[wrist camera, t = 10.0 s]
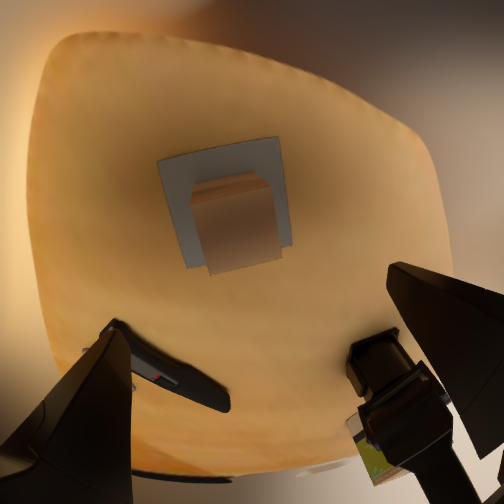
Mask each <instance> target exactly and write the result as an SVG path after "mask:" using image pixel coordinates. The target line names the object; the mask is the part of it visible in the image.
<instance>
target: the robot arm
mask: <svg viewBox="0 0 504 504" xmlns="http://www.w3.org/2000/svg"><path fill="white" fill-rule="evenodd" d="M386 288H387V291H388V293H389V295H390V296H391V298H392V300H393V302H394V304H395V306H396V307H397V309H398V311H399V313H400V315H401V317H402V319H403V321H404V322H405V324H406V326H407V327H408V329H409V330H410V332H411V334H412V335H413V337H414V338H415V340H416V341H417V343H418V344H419V346H420V348H421V349H422V351H423V352H424V354H425V356H426V357H427V359H428V361H429V362H430V364H431V366H432V367H433V369H434V371H435V372H436V374H437V376H438V377H439V379H440V381H441V383H442V384H443V386H444V388H445V390H446V392H447V393H448V394H447V393H446V392H445V390H444V388H443V387H442V385H441V384H440V383H439V381H438V380H437V379H436V377H435V376H434V375H433V374H432V372H431V371H430V370H429V368H428V367H427V366H426V365H425V363H424V362H423V361H422V360H420V361H419V362H418V364H417V365H415V363H414V362H413V360H412V359H411V358H410V356H409V355H408V354H407V352H406V351H405V350H404V348H403V347H402V346H401V344H400V343H399V342H398V340H397V338H398V335H399V329H398V328H394V329H391V330H389V331H387V332H384V333H382V334H379V335H376V336H374V337H371V338H369V339H366V340H363V341H361V342H358V343H355V344H353V345H352V346H351V349H350V356H349V360H348V364H347V370H346V374H347V378H348V379H349V380H350V382H351V384H352V385H353V387H354V389H355V391H356V393H357V395H358V397H360V398H361V397H364V399H365V401H366V403H365V404H363V405H360V406H359V407H357V408H358V411H359V413H358V414H359V417H360V420H361V423H362V426H363V429H364V432H365V438H366V442H367V444H368V445H372V446H373V447H374V448H375V449H376V450H377V451H378V452H381V451H382V453H383V455H384V456H385V458H386V461H387V462H388V463H389V464H391V465H392V466H394V467H400V468H403V469H405V470H407V471H410V472H412V473H414V474H415V476H416V478H417V480H418V481H419V483H420V485H421V487H422V489H423V491H424V493H425V495H426V497H427V499H428V501H429V503H430V504H504V450H503V455H502V460H501V464H500V469H499V473H498V478H497V479H498V481H499V483H500V485H501V487H500V488H498V489H497V490H496V491H495V492H494V493H493V494H492V495H491V496H490V497H489V498H488V499H487V500H486V501H485V502H483V503H482V502H481V500H480V498H479V496H478V494H477V492H476V490H475V488H474V486H473V484H472V482H471V480H470V479H469V476H468V475H467V473H466V471H465V469H464V467H463V465H462V464H461V462H460V460H459V458H458V457H457V455H456V453H455V451H454V450H453V448H452V435H453V416H452V414H451V412H450V411H449V409H448V407H447V406H446V405H448V404H449V403H450V402H451V401H452V402H453V404H454V406H455V408H456V410H457V412H458V414H459V415H460V418H461V420H462V422H463V424H464V426H465V428H466V431H467V433H468V435H469V437H470V439H471V441H472V443H473V445H474V448H475V450H476V452H477V455H478V457H479V459H480V460H481V459H483V458H484V457H485V456H487V455H488V454H490V453H491V452H492V451H493V450H495V449H496V448H497V447H499V446H500V445H501V444H502V443H504V295H503V294H500V293H497V292H494V291H491V290H488V289H485V288H482V287H479V286H476V285H473V284H470V283H467V282H464V281H461V280H458V279H454V278H452V277H449V276H446V275H443V274H439V273H436V272H433V271H430V270H427V269H424V268H420V267H417V266H414V265H411V264H407V263H404V262H400V261H399V262H395V263H392V264H390V265H389V267H388V273H387V281H386ZM426 378H427V379H426ZM448 395H449V396H448ZM449 397H450V398H449ZM450 399H451V400H450ZM131 407H132V374H131V350H130V347H129V345H128V343H127V342H126V340H125V338H124V337H123V335H122V333H121V332H120V331H119V330H118V329H112V330H107V331H106V332H105V333H104V334H103V335H102V336H101V337H100V338H99V339H98V340H97V341H96V342H95V343H94V344H93V345H92V346H91V347H90V348H89V349H88V350H87V351H86V352H85V354H84V355H83V356H82V357H81V358H80V359H79V360H78V361H77V362H76V363H75V364H74V365H73V366H72V368H71V369H70V370H69V371H68V372H67V373H66V374H65V375H64V376H63V377H62V379H61V380H60V381H59V382H58V383H57V384H56V385H55V386H54V388H53V389H52V390H51V391H50V392H49V393H48V394H47V396H46V397H45V398H44V400H42V401H41V402H40V404H39V405H38V406H37V407H36V408H35V409H34V410H33V412H32V413H31V414H30V415H29V416H28V417H27V418H26V419H25V421H24V422H23V423H22V424H21V425H20V426H19V427H18V428H17V429H16V430H15V431H14V432H13V433H12V434H11V435H10V436H9V437H8V438H7V439H6V440H5V441H4V443H3V444H2V445H0V504H133V493H132V477H131Z"/></svg>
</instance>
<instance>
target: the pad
mask: <svg viewBox="0 0 504 504" xmlns="http://www.w3.org/2000/svg"><path fill="white" fill-rule="evenodd" d="M157 164H158V169H159V173H160V177H161V180H162V184H163V188H164V192H165V196H166V200H167V203H168V207H169V210H170V214H171V218H172V221H173V225H174V228H175V231H176V235H177V238H178V241H179V245H180V248H181V251H182V255H183V258H184V261H185V264H186V267H187V269H188V268H193V267H197V266H202V265H206V260H205V257H204V254H203V250H202V247H201V244H200V240H199V237H198V233H197V230H196V226H195V223H194V219H193V216H192V212H191V209H190V201H191V196H192V191H193V185H194V184H197V183H200V182H204V181H208V180H213V179H217V178H221V177H225V176H230V175H234V174H239V173H243V172H248V171H253V170H254V171H255V172H256V173H257V174H258V175H259V176H260V177H261V178H263V179H264V180H265V181H266V182H267V183H268V184H269V185H270V186H271V188H272V194H273V200H274V207H275V213H276V219H277V225H278V232H279V238H280V245H281V248H282V247H286V246H291V245H292V236H291V227H290V218H289V210H288V202H287V194H286V186H285V178H284V171H283V164H282V157H281V150H280V143H279V137H270V138H264V139H257V140H251V141H246V142H240V143H235V144H230V145H225V146H220V147H215V148H210V149H206V150H201V151H197V152H193V153H188V154H184V155H180V156H176V157H173V158H169V159H165V160H161V161H158V162H157Z"/></svg>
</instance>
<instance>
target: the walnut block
mask: <svg viewBox="0 0 504 504" xmlns="http://www.w3.org/2000/svg"><path fill="white" fill-rule="evenodd" d="M190 209H191V212H192V216H193V219H194V223H195V226H196V230H197V233H198V237H199V240H200V244H201V247H202V250H203V254H204V257H205V260H206V264H207V267H208V270H209V274H210V276H211V275H215V274H220V273H224V272H228V271H232V270H236V269H240V268H244V267H248V266H252V265H256V264H261V263H265V262H269V261H273V260H277V259H281V258H282V251H281V245H280V238H279V232H278V225H277V219H276V213H275V207H274V200H273V194H272V188H271V186H270V185H269V184H268V183H267V182H266V181H265V180H264V179H263V178H261V177H260V176H259V175H258V174H257V173H256V172H255V171H254V170H253V171H248V172H243V173H239V174H234V175H230V176H225V177H221V178H217V179H213V180H208V181H204V182H200V183H197V184H194V185H193V191H192V196H191V201H190Z"/></svg>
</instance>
